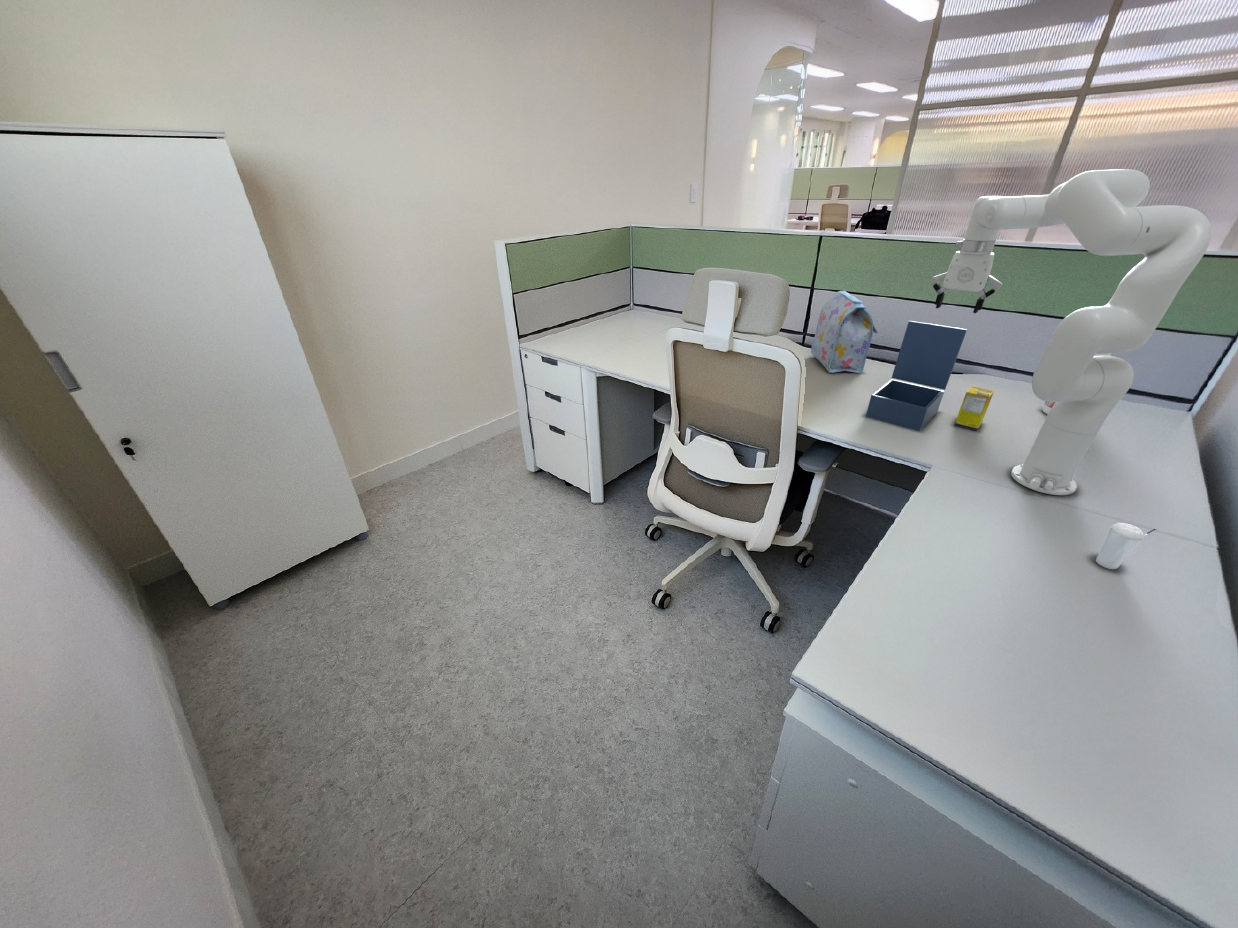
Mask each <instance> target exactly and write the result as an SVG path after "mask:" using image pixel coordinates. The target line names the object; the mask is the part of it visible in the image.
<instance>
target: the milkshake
mask: <svg viewBox="0 0 1238 928" xmlns="http://www.w3.org/2000/svg"><path fill="white" fill-rule="evenodd" d="M1156 530H1157V528H1156V527H1155V528H1152V529H1151V530H1150V531H1148V532H1146V533H1144V532H1143V531H1142V529H1140V527H1137V526H1135V525H1133V524H1130V523H1126V522H1115V523H1114V524H1111V526H1110V528H1109V531H1108V532H1107V535H1106V538H1105V540H1104V542H1103V545H1102V547H1101V549H1100V550H1099V552H1098V554H1097V556H1096V559H1095V562H1096V563H1097V564H1098V565H1099V566H1101V567H1103V568H1105V569H1109V570H1117V569H1118V568H1119V567H1120V566H1121V565H1122V564H1123V563H1124V561H1125V560H1126V559H1127V558H1128V557H1129V555H1130V554H1131V553H1132V552H1133V551H1134V550H1135V549H1136V548H1137V547H1138V546H1139V545H1140V544H1141V542H1142V541H1144V539H1145V538H1146V536H1147V535H1149V534H1151V533H1153V532H1154V531H1156Z"/></svg>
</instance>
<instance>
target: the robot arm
mask: <svg viewBox="0 0 1238 928" xmlns="http://www.w3.org/2000/svg"><path fill="white" fill-rule="evenodd" d="M1150 187H1151V184H1150V179H1149V177H1148V176H1147V174H1146V173H1144V172H1142V171H1140V170H1137V169H1131V168H1119V169H1117V168H1116V169H1093V170H1087V171H1083V172H1080V173H1079V174H1077V175H1074V176H1073V177H1071V178H1070V179H1069V180H1067V181H1066V182H1063V183H1061V184H1059V185H1058V186H1056V187H1055V188H1054V189H1052V191H1051V192H1050V193H1047V194H1041V195H1040V194H1039V195H1015V196H1014V195H1013V196H1003V195H986V196H980V197H979V198H977V199H976V200H975V202H974V204H973V207H972V210H971V213H970V217H969V220H968V223H967V225H966V230H965V233H964V236H963V239H962V240H960V241H959V240H958V241H956V243H955V246H954V247H958V248H959V250H958V251H957V250H956V251H955V253H954V255H953V256H952V259H951V261H950V262H949V263H950V264H949V266H948V268H947V271H946V272H944V273H941V274H938V275H937V274H936V275H935V276H933V277H931V283H932V288H933V289H934V290H935V292H936V294H937V295H936V298H935V302H934V306H935V309H940V308H941V307H942V305H943V301H944V298H945V295H946V293H945V292H946V291H947V290H952V291H961V292H970V293H971V292H972V293H977V294H978V297H979V298H977V300H976V302H975V305H974V308H973V311H972V313H973V314H977V313H979V311H981V310H982V308H983V306H984V303H985V300H986V299H987V298H988V297H990V296H991V295H993V294H994V293H996V292H997V291H998V290H1000V288H1001V287H1002V286H1003V282H1002V281H1000V280H999V279H997V278H995V276H992V275H991V272H992V268H993V264H994V259H995V253H994V252H993V250H994V247H995V244H996V241H997V238H998V236H999V233H1000V231H1001V230H1003V231H1004V230H1005V231H1006V230H1023V229H1024V230H1025V229H1037V228H1038V229H1039V228H1044V227H1052V226H1058V225H1063V224H1065V226H1066V227H1067V228H1068V229H1069V231H1070V232H1071V233H1072V235H1073V236H1074V237H1075V238H1076V240H1077V241H1078V242H1079V243H1080V245H1081V246H1082V247H1083V248H1084V249H1085V250H1086V251H1087V252H1089V253H1090V254H1093V255H1096V256H1101V257H1111V256H1113V257H1114V256H1133V255H1135V256H1136V255H1143V256H1144V258H1143V259H1142V260H1140V262H1138V263H1137V264H1136V265H1135V266H1133V267H1132V268H1131V269H1130V270H1129V271H1128V272H1127V273H1126V274H1125V275H1124V277H1123V278H1122V280H1120V282H1119V284H1118V285H1117V287H1116V290H1115V291H1114V293H1113V294H1112V296H1111V298H1110V299H1109V301H1108V302H1107V303H1106V304H1105V305H1097V306H1096V305H1095V306H1086V307H1082V308H1079V309H1077V310H1074V311H1072V312H1071V313H1069V314H1068V315H1066V316H1065V317H1064V318H1063V319H1062V320H1061V321H1060V322H1059V323H1058V325H1057V326H1056V327H1055V329H1054V331H1053V333H1052V335H1051V337H1050V339H1049V341H1048V343H1047V345H1046V347H1045V349H1044V351H1043V352H1042V355H1041V357H1040V359H1039V361H1038V363H1037V365H1036V367H1035V370H1034V372H1033V375H1032V379H1031V389H1032V392H1033V395H1035V396H1036V398H1038V399H1040V400H1042V401H1044V402H1045V401H1047V402H1056V403H1055V404H1054V405H1053V407H1052V408H1051V409H1050V411H1049V413H1048V414H1046V417H1045V419H1044V420H1043V422H1042V425H1041V427H1040V429H1039V431H1038V433H1037V435H1036V437H1035V439H1034V442H1033V443H1032V445H1031V447H1030V449H1029V451H1028V454H1027V456H1026V458H1025V460H1024V462H1023V463H1022V464H1018V465H1015V466H1014V467H1012V470H1011V472H1010V475H1011V477H1012V478H1013V480H1014V481H1016V482H1017V483H1018V484H1020V485H1022V486H1023V487H1026V488H1028V489H1030V490H1032V491H1035V492H1039V493H1042V494H1047V495H1052V496H1068V495H1072V494H1074V493H1075V492H1076V490H1077V489H1078V484H1077V482H1076V481H1075V480H1074V476H1075V474H1076V473H1077V471H1078V469H1079V467H1080V466H1081V464H1082V462H1083V460H1084V459H1085V457H1086V455H1087V453H1088V451H1089V450H1090V448H1091V446H1092V444H1093V442H1094V440H1095V439H1096V437H1097V435H1098V433H1099V432H1100V430H1101V428H1102V426H1103V424H1104V423H1105V422H1106V419H1107V418H1108V416H1109V415H1110V413H1112V411H1113V410H1114V408H1115V407H1116V405H1118V403H1119V402H1120V401H1121V400H1122V399H1123V398H1124V396H1125V395H1126V394H1127V392H1128V391H1130V388H1131V387H1132V384H1133V382H1134V378H1135V377H1134V376H1135V372H1134V369H1133V366H1132V365H1131V364H1130V362H1128V361H1127V360H1125V359H1123V358H1121V357H1118V356H1115V355H1114V356H1112V355H1111V356H1094V355H1095V354H1107V353H1112V354H1120V353H1128V352H1133V351H1135V350H1138V349H1139V348H1142V347H1143V346H1144V345H1145V344H1146V343H1147V342H1148V341H1149V339H1151V337H1152V335H1153V334H1154V332H1155V331H1156V329H1157V327H1158V326H1159V324H1160V323H1161V321H1162V319H1163V318H1164V316H1165V314H1166V313H1167V311H1168V309H1169V308H1170V307H1171V306H1172V305H1171V304H1172V303H1173V301H1174V300H1175V298H1176V296H1177V294H1178V293H1179V291H1180V289H1181V288H1182V286H1183V285H1184V283H1185V282H1186V281H1187V279H1188V278H1189V276H1190V275H1191V274H1192V272H1193V271H1194V269H1196V267H1197V265H1198V264H1199V263H1200V262H1201V260H1202V259H1203V257H1204V255H1205V253H1206V252H1207V250H1208V248H1209V245H1210V242H1211V239H1212V227H1211V222H1210V221H1209V219H1208V218H1207V217H1206V215H1205V214H1204V213H1203V212H1201V211H1200V210H1198V209H1196V208H1193V207H1189V206H1184V205H1176V204H1175V205H1174V204H1165V205H1163V204H1162V205H1145V206H1144V205H1143V206H1141V205H1140V204H1141V203H1142V202H1143V201H1144V200H1145V199H1146V197H1147V195H1148V193H1149V191H1150ZM1138 205H1140V206H1138ZM941 279H944V280H943V282H942V286H941V284H940V283H939V280H941ZM988 283H990V285H993V287H992V288H991V289H990V290H988V291H987V290H986V289H985V288H987V285H988Z"/></svg>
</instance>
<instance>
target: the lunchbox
mask: <svg viewBox="0 0 1238 928" xmlns="http://www.w3.org/2000/svg"><path fill="white" fill-rule="evenodd" d="M944 394H945V390H943V389H939V388H934V387H930V386H925V385H921V384H916V383H912V382H907V381H903V380H898V379H894V378H890V380H888V381H887V382H885V384H883V385H882V386H881V387H879V388H878V389H877V390H876V391H874V392H873V393H872V394H871V395H870V399H869V402H868V405H867V410H866V412H865V413H866V414H865V417H867V418H870V419H874V420H877V421H881V422H884V423H888V424H892V425H895V426H899V427H902V428H907V429H909V430H913V431H916V432H921V431H922V429H923V428H924V427H925V426H926V425H927V424H928V423H929V422H930V421H931V420H932V419H933V418H934V417H935V415H936V414H938V411H939V409H940V405H941V402H942V400H943V397H944Z"/></svg>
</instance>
